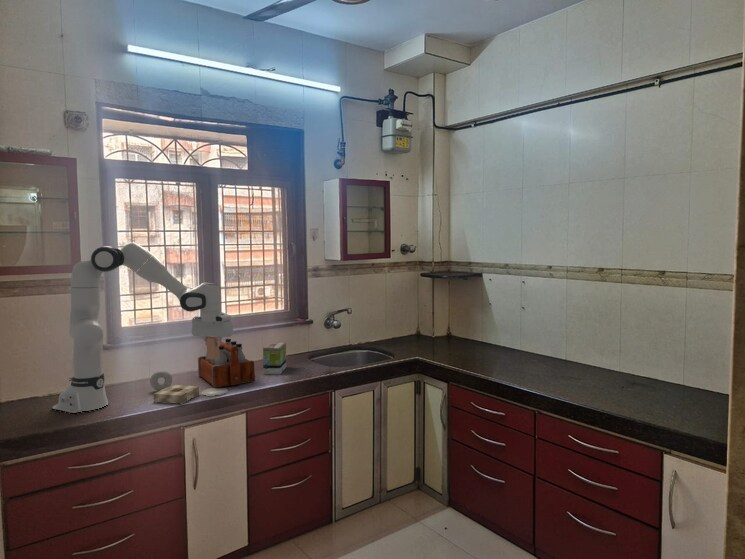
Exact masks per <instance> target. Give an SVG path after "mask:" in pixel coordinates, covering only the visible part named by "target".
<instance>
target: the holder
mask: <svg viewBox="0 0 745 559" xmlns="http://www.w3.org/2000/svg"><path fill="white" fill-rule="evenodd" d="M197 395H198V396H200V386H196V385H195V386H193V385H180V384H179V385H178V384H171V386H169V387H167V388H165V389H163V390H160V391H155V392H154V393H153V395H152V396H153V403H157V402H166V403H165V404H169V403H180V404H179V405H182V404H181V403H183V404H184V402H185V403H187V402H188V400H189V401H191V400H192V399H191V398H193V397H195V396H196V397H198V396H197ZM196 397H195V398H196ZM190 399H191V400H190ZM193 399H194V398H193ZM186 401H187V402H186Z"/></svg>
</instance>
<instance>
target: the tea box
mask: <svg viewBox="0 0 745 559" xmlns="http://www.w3.org/2000/svg"><path fill="white" fill-rule="evenodd" d="M262 354H263V355H262V360H263V361H262V368H263V369H262V374H263V375H281V374H282V373H283V372H284V370H285V369H286V368H287V343H286V342H268V343H267V344H266V345H265V346H264V347H263V348H262Z"/></svg>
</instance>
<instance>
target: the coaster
mask: <svg viewBox="0 0 745 559" xmlns="http://www.w3.org/2000/svg"><path fill="white" fill-rule="evenodd" d="M227 391H228V389H227V388H225V387H211V388H206V389H204V390H202V391H201V393H200V394H201V396H203V395H206V396H205V397H216V396H215V395H220V396H222V395H221V394H223V395H225V394H224V393H226V392H227ZM227 393H228V392H227ZM227 393H226V394H227Z"/></svg>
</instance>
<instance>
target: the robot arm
mask: <svg viewBox="0 0 745 559" xmlns="http://www.w3.org/2000/svg"><path fill="white" fill-rule="evenodd" d="M121 266H123V267H124V266H125V267H126V268H128V269H130V270H131V271H132V272H134V273H135V274H136V275H137V276H139V277H140V278H142V279H143V280H145V281H147V282H151V283H154V284H158V285H161V286H162V287H164V289H166V290H168V291H169V292H170V293H172V294H173V295H174V296H175V297H176V298H177V299H178V301H179V304H180V307H181V308H182V310H184V311H186V312H190V313H191V312H196V311H199V310H200V311H201V312H200V314H201V316H198V315H197V316H194V317H193V318H192V319H191V322H192V323H191V335H192V336H193V337H202V340H203V342H204V345H205V346H206V347H207V343H206V338H208V337H217V339H218V341H217V342H215V344H216V346H220V341H221V342H222V339H223V338H230V337H232V336H233V334H234V328H233V322H232V321H231V320H232V315H230V314H227V313H224V312H222V308H221V292H220V288H219V285H218V284H216V283H214V282H201V284H199V285H197V286H196V287H194V288H192V287H189V286H186V285H185V284H184V283H182V282H181V281H180V280H178V279H177V278H176V277H175V276H173V275H172V274H171V273H170V272H169V270H168V269H167V268H166V266H165V265H164V264H163V263H162V262H161V260H160V259H159V258H158V257H156V256H155V254H153V253H152V252H150V251H149V250H148V249H146V248H145V247H143V246H142V245H139V244H138V243H136V242H128V243H126V244H125V245H123V246H122V247H121V248H116V247H114V246H111V245H103V246H100V247H97V248H96V249H94V251H93V252H92V254H91V256H90V260H85V261H83V260H82V261H79V262H76V263H75V264H74V265H73V267H72V270H71V278H70V314H69V334H70V336H71V338H72V339H73V356H72V366H73V368H72V369H73V377H70V378H69V379H68V382H70V385H69V386H68V387H66V389H64V390H63V391H62V392H61V393H60V394H59V396H58V402H57V404H55V405H53V406H52V407H51V408H53V409H58V410H63V411H67V412H72V413H76V412H81V413H83V412H82V411H89V410H94V409H98V410H100V409H99V408H102V407H104V406H106V405H108V403H109V399H108V398H107V393H106V392H107V391H106V387H105V373H103V372H104V370H103V348H104V329H103V327H102V325H101V324H100V323H99V316H100V309H101V308H100V307H101V276H102V274H103V273H104V272H105V273H107V272H112V271H115V270H117V269H118V268H119V267H121ZM108 406H109V405H108ZM106 407H107V406H106ZM104 408H105V407H104ZM102 409H103V408H102ZM94 411H95V410H94ZM89 412H90V411H89Z"/></svg>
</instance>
